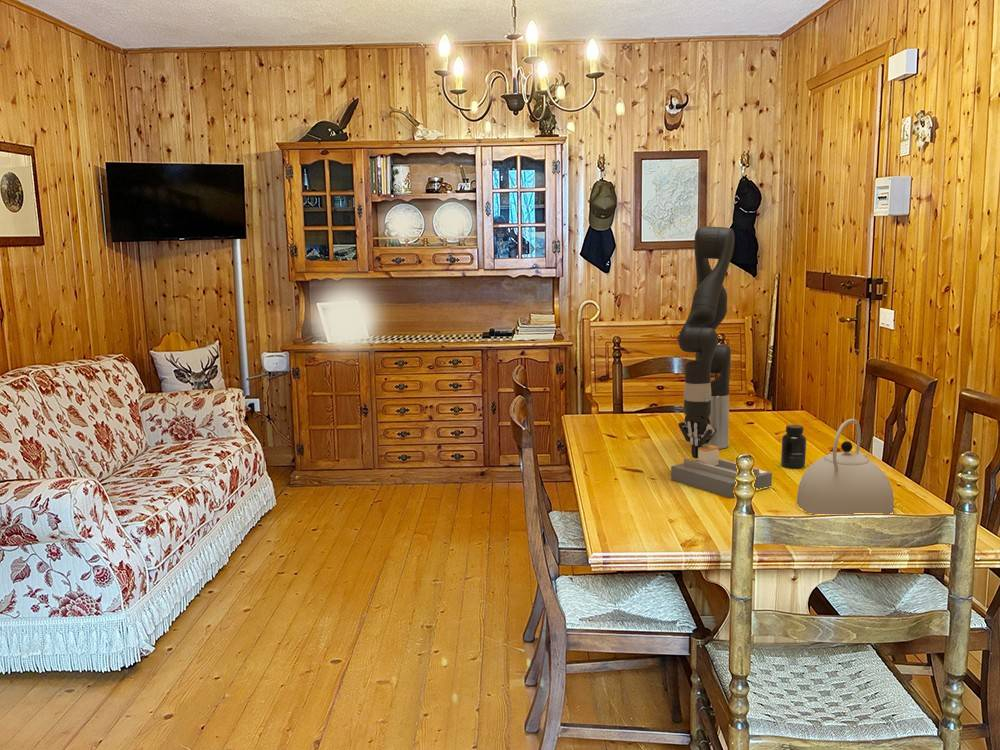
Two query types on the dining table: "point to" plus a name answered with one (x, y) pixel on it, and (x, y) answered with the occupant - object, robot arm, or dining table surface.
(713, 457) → the handle
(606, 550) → the dining table surface
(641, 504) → the dining table surface
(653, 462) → the dining table surface
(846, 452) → the kettle
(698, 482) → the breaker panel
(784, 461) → the supplement bottle
